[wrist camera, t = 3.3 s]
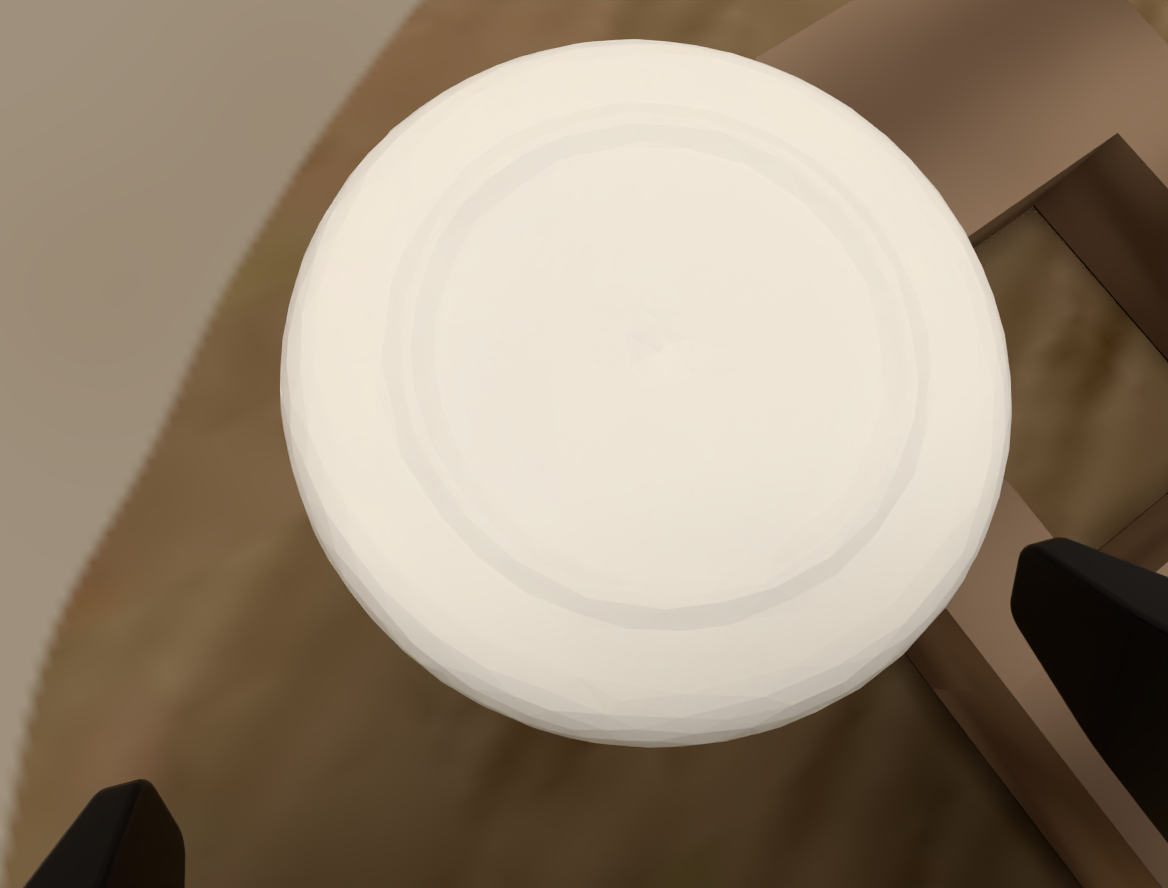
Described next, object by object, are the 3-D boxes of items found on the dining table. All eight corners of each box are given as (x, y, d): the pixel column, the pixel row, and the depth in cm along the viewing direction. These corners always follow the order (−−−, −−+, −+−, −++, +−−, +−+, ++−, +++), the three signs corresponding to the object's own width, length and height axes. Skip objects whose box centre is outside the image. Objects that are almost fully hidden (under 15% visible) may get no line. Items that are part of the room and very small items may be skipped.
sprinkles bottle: (504, 427, 19) (488, -103, 6) (697, 519, 19) (1134, 192, 6) (403, 624, 18) (94, 526, 5) (608, 724, 17) (893, 916, 4)
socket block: (1476, 572, 20) (1643, 556, 17) (1110, 923, 17) (1231, 976, 14) (962, -7, 22) (1029, -106, 19) (582, 227, 20) (594, 154, 17)
